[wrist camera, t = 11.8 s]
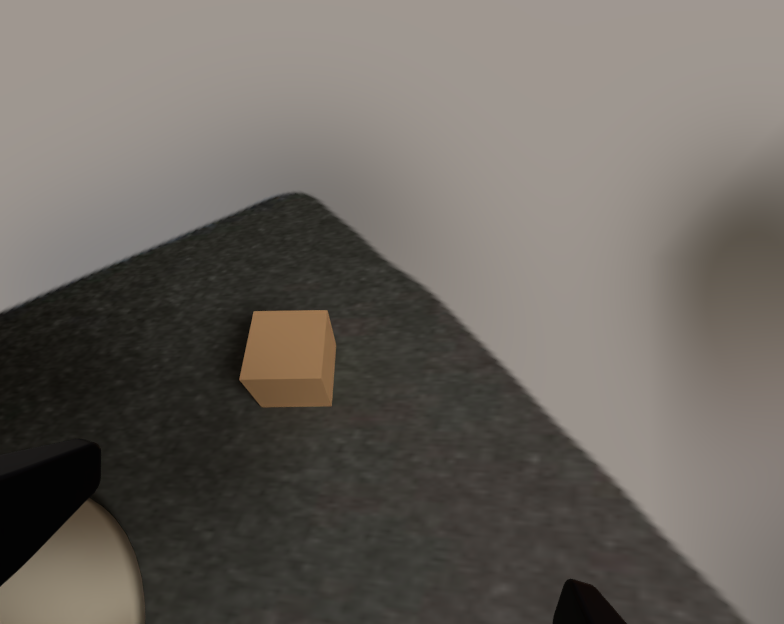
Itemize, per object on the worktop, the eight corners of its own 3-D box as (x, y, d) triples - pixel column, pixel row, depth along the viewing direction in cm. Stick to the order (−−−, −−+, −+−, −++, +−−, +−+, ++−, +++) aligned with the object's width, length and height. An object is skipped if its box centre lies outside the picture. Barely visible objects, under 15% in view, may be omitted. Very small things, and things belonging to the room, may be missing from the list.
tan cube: (336, 345, 25) (327, 310, 21) (331, 406, 23) (321, 378, 19) (272, 346, 25) (253, 311, 21) (262, 407, 23) (239, 379, 19)
